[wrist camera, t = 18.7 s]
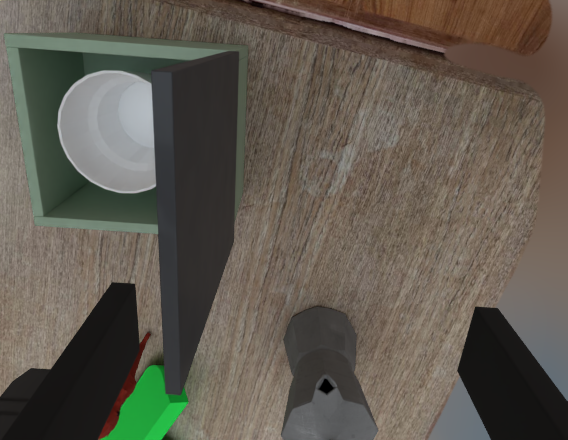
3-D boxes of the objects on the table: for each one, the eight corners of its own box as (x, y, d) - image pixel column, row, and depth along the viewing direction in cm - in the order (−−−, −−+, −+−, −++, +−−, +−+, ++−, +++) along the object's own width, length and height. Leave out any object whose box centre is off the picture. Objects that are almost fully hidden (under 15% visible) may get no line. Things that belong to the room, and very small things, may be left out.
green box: (91, 182, 49) (34, 225, 38) (75, 32, 43) (3, 33, 32) (243, 192, 50) (229, 239, 39) (248, 45, 44) (234, 50, 33)
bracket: (157, 441, 70) (168, 488, 65) (94, 447, 64) (101, 499, 59) (219, 356, 63) (237, 401, 58) (156, 353, 57) (170, 404, 52)
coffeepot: (278, 294, 55) (273, 408, 38) (355, 288, 54) (384, 402, 38) (288, 390, 61) (288, 526, 44) (358, 386, 60) (384, 521, 44)
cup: (84, 113, 46) (33, 134, 36) (146, 38, 43) (107, 41, 34) (160, 180, 48) (131, 215, 39) (223, 114, 45) (207, 136, 36)
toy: (164, 325, 57) (124, 420, 43) (146, 354, 59) (102, 454, 45) (147, 316, 56) (101, 410, 42) (130, 346, 58) (80, 444, 44)
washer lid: (164, 394, 22) (181, 395, 22) (150, 70, 16) (172, 71, 16) (224, 241, 38) (234, 241, 38) (228, 50, 32) (239, 51, 32)
